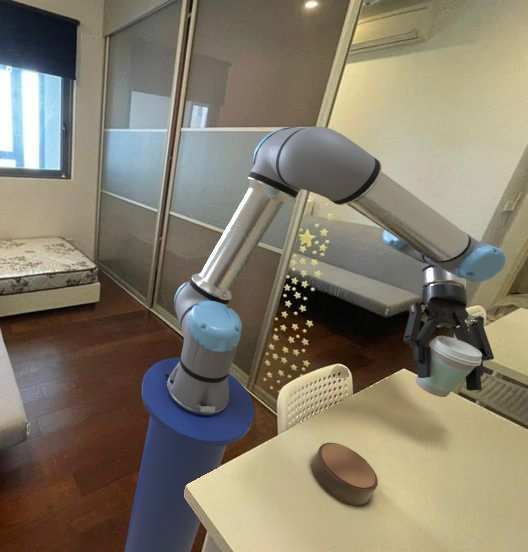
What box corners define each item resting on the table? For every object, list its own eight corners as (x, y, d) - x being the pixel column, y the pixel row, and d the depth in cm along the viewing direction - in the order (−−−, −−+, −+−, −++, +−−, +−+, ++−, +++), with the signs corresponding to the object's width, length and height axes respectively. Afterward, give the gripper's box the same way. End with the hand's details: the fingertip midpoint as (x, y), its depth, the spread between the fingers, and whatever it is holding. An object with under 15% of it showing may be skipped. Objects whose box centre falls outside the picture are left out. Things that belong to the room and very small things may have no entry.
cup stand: (304, 474, 63) (311, 459, 62) (321, 447, 70) (328, 433, 68) (361, 517, 57) (371, 502, 55) (374, 482, 64) (383, 468, 62)
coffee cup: (415, 371, 79) (440, 331, 75) (460, 394, 73) (490, 352, 68) (401, 381, 75) (427, 338, 70) (448, 407, 68) (479, 362, 64)
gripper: (482, 304, 78) (491, 399, 70) (384, 284, 83) (383, 371, 75) (512, 294, 71) (526, 397, 63) (403, 273, 76) (404, 367, 68)
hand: (448, 383), depth 69 cm, fingers closed on coffee cup, 8 cm apart
